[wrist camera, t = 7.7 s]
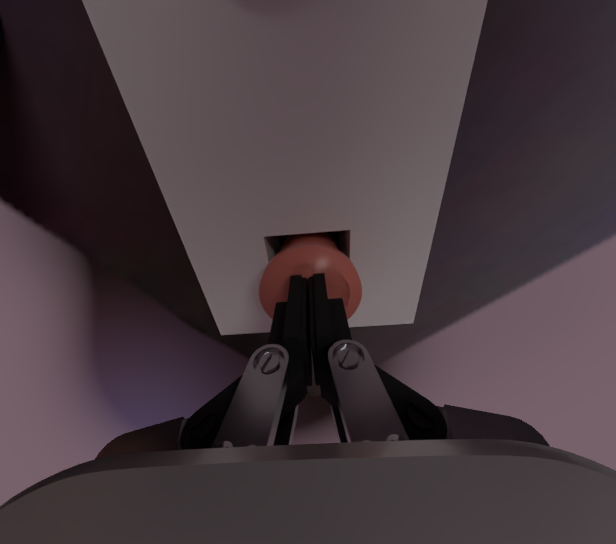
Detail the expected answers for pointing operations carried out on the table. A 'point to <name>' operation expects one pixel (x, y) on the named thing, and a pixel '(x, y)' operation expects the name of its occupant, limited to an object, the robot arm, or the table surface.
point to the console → (296, 132)
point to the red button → (310, 271)
